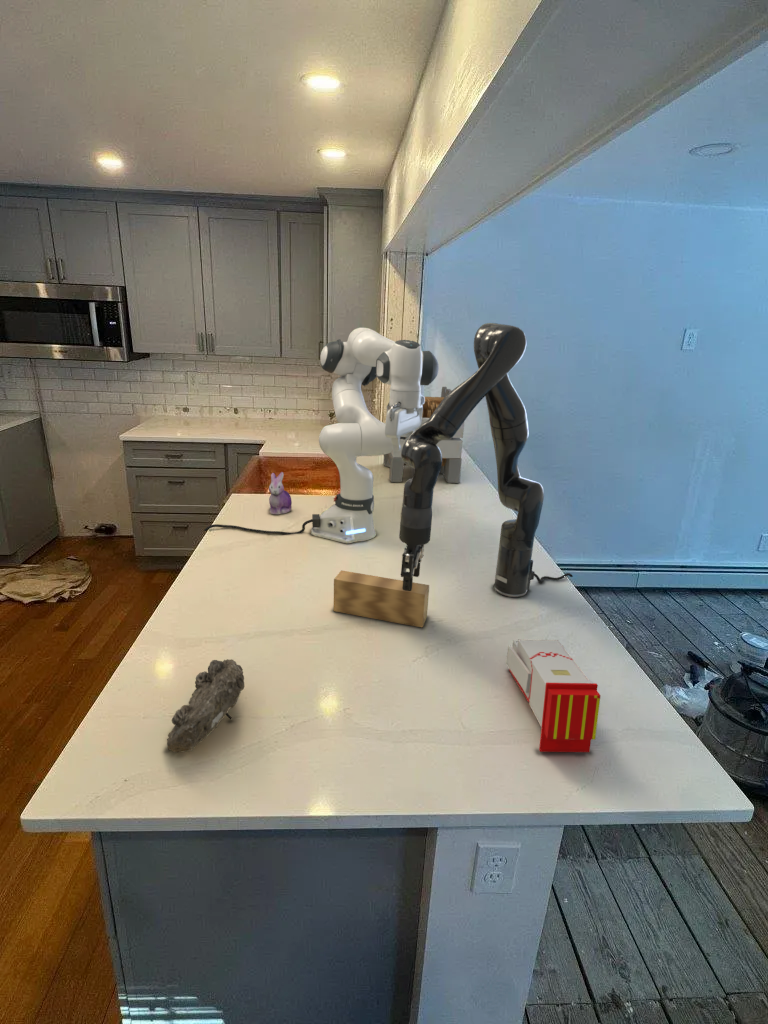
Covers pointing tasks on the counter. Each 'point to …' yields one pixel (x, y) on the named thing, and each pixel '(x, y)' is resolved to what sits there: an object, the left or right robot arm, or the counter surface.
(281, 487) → the figurine
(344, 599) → the bar
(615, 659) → the counter surface
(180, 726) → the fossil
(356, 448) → the left robot arm
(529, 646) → the toy
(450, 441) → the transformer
